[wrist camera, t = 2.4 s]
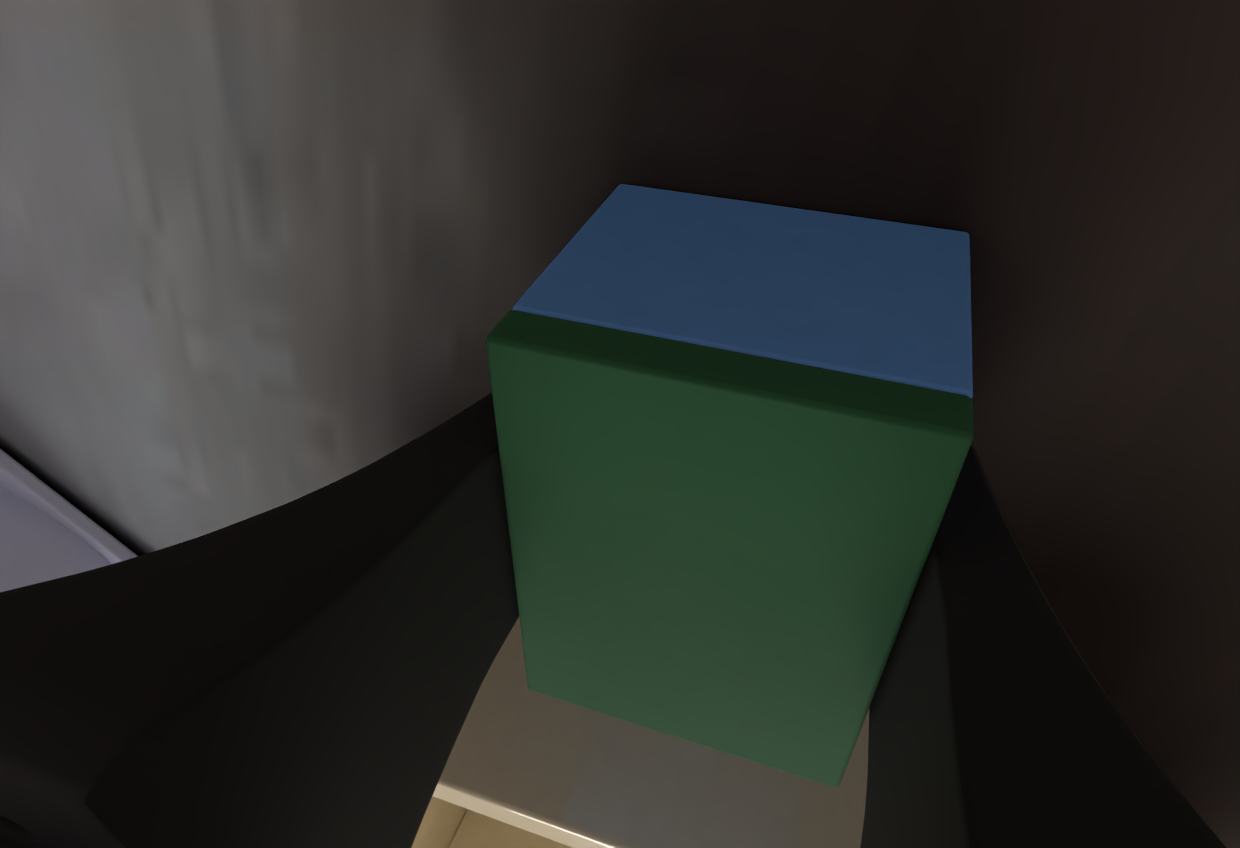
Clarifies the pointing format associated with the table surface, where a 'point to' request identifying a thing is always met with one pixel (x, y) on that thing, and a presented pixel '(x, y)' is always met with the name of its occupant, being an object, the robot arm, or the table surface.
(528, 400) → the sponge
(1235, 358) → the table surface
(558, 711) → the basin
